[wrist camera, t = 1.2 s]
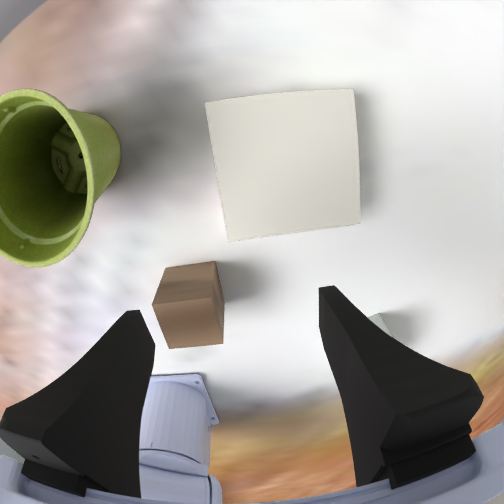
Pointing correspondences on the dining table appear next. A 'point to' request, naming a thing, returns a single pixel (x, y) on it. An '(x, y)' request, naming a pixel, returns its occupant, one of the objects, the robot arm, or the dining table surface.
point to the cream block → (286, 161)
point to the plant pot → (49, 175)
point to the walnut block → (190, 306)
